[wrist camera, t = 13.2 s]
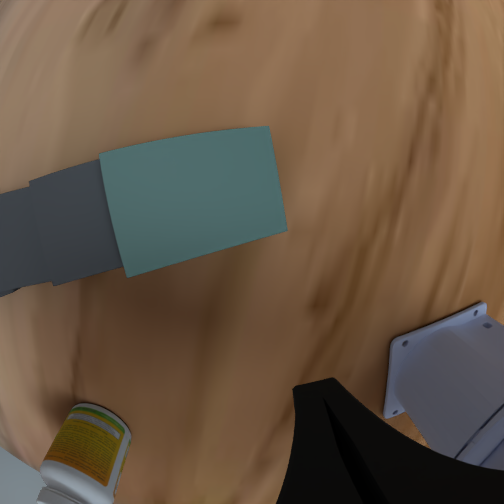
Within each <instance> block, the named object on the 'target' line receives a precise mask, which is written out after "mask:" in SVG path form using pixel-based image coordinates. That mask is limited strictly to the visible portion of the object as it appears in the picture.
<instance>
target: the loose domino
mask: <svg viewBox="0 0 504 504" xmlns="http://www.w3.org/2000/svg"><path fill="white" fill-rule="evenodd" d="M99 158H100V165H101V170H102V176H103V182H104V187H105V192H106V197H107V202H108V207H109V211H110V216H111V220H112V224H113V228H114V232H115V236H116V240H117V244H118V248H119V252H120V255H121V259H122V263H123V266H124V269H125V273H126V276H127V278H129V277H132V276H136V275H139V274H142V273H146V272H149V271H152V270H156V269H159V268H162V267H166V266H169V265H172V264H176V263H179V262H182V261H186V260H189V259H192V258H196V257H199V256H203V255H206V254H209V253H213V252H216V251H220V250H223V249H226V248H230V247H233V246H237V245H240V244H243V243H247V242H250V241H254V240H257V239H261V238H264V237H268V236H271V235H275V234H278V233H282V232H285V231H288V230H287V224H286V218H285V212H284V206H283V200H282V194H281V188H280V182H279V177H278V171H277V166H276V160H275V155H274V150H273V144H272V139H271V134H270V129H269V126H261V127H249V128H239V129H229V130H221V131H213V132H205V133H198V134H192V135H185V136H179V137H173V138H168V139H162V140H157V141H152V142H147V143H142V144H137V145H133V146H128V147H124V148H120V149H116V150H111V151H107V152H104V153H100V154H99Z"/></svg>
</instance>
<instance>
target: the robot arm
mask: <svg viewBox="0 0 504 504" xmlns="http://www.w3.org/2000/svg"><path fill="white" fill-rule="evenodd" d="M486 309H487V304H486V303H484V302H480V303H478V304H476V305H474V306H472V307H470V308H468V309H466V310H463V311H461V312H459V313H457V314H455V315H452V316H450V317H448V318H445V319H443V320H441V321H438V322H436V323H433V324H431V325H428V326H426V327H423V328H421V329H418V330H415V331H413V332H410V333H407V334H405V335H402V336H399V337H397V338H395V339H394V340H393V341H392V342H391V345H390V358H389V370H388V380H387V388H386V396H385V404H384V411H383V416H384V418H386V419H388V418H391V417H393V416H396V415H398V414H401V413H403V412H405V411H406V413H407V414H408V416H409V417H410V418H411V420H412V421H413V423H414V424H415V426H416V427H417V429H418V430H419V432H420V433H421V435H422V436H423V438H424V439H425V441H426V442H427V444H428V445H429V447H430V448H431V449H429V448H427V447H425V446H423V445H421V444H419V443H417V442H416V441H414V440H412V439H410V438H408V437H407V436H405V435H404V434H402V433H400V432H399V431H397V430H396V429H394V428H393V427H391V426H390V425H388V424H387V423H386V422H384V421H383V420H382V419H380V418H379V417H378V416H376V415H375V414H374V413H373V412H371V411H370V410H369V409H368V408H366V407H365V406H364V405H363V404H362V403H360V402H359V401H358V400H357V399H356V398H355V397H354V396H353V395H352V394H351V393H349V392H348V391H347V390H346V389H345V388H344V387H343V386H342V385H341V384H340V383H339V382H338V381H337V380H336V379H335V378H333V377H332V378H328V379H324V380H320V381H315V382H311V383H307V384H302V385H297V386H295V387H294V388H293V389H292V390H293V398H294V407H295V427H294V437H293V444H292V449H291V454H290V459H289V464H288V468H287V472H286V475H285V479H284V482H283V485H282V488H281V491H280V494H279V497H278V500H277V502H276V504H504V325H502V324H500V323H499V322H497V321H496V320H494V319H493V318H491V317H490V316H488V315H486ZM405 340H406V341H405ZM404 341H405V342H404ZM403 342H404V343H403ZM402 343H403V344H402Z"/></svg>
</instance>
